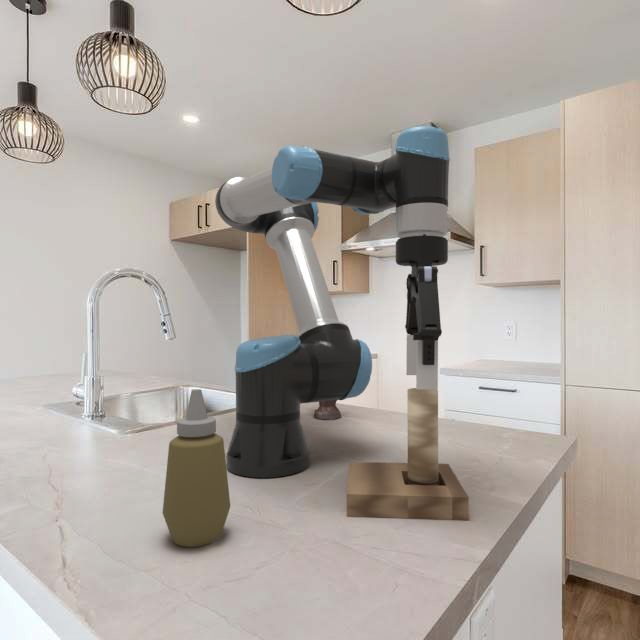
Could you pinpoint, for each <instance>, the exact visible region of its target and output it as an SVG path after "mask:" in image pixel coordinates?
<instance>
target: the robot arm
mask: <svg viewBox="0 0 640 640" xmlns="http://www.w3.org/2000/svg"><path fill="white" fill-rule="evenodd" d="M395 143H396V145H395V149H394V150H395V154H394V155H392V156H390V157H389V158H386V159H384V160H381V161H373V160H367V159H362V158H357V157H354V156H353V157H352V156H346V155H342V154H338V153H334V152H333V153H332V152H328V151H325V150H324V151H323V150H319V149H314V148H312V147H309V146H296V145H285V146H283V147H281V148H280V149H279V151H278V152H277V154H276V155H275V157H274V159H273V164H272V166H270V167H268V168H266V169H264V170H261V171H259V172H257V173H254V174H252V175H250V176H247V177H243V176H236V177H234V178H233V177H232V178H231V179H228V180H227V181H225V182H224V183H222V184H221V186H220V187H219V189H218V190H217V192H216V195H215V201H214V202H215V208H216V212H217V213H218V215H219V217H220V218H221V220H222V221H223V222H224V223H226V224H227V225H228V226H229V227H231V228H233V229H235V230H237V231H239V232H240V231H241V232H245V233H252V234H263V235H264V237H265V240H266V241H265V242H266V243H267V246H269V248H270V249H273V250H274V251H275V252H276V256H277V260H278V263H279V266H280V270H281V273H282V277H283V280H284V284H285V288H286V291H287V295H288V298H289V301H290V304H291V305H290V306H291V308H292V313H293V315H294V318H295V319H294V320H295V323H296V327H297V330H298V333H299V334H298V335H297V334H282V335H272V336H265V337H264V336H263V337H258V338H254V339H249V340H246V341H244V342H241V343H240V344H239V345H238V346H237V348H236V354H235V365H234V372H235V425H234V430H233V433H232V434H231V435H232V436H231V439H230V441H229V445H228V448H227V451H226V455H225V460H226V469H227V471H229V472H231V473H233V474H235V475H238V476H242V477H246V478H247V477H248V478H277V477H284V476H285V477H286V476H289V475H290V476H291V475H293V474H297V473H300V472H302V471H304V470H306V469H307V468H308V467H309V466H310V463H311V462H310V461H311V460H310V459H311V457H310V454H311V453H310V448H309V445H308V441H307V439H306V435H305V433H304V430H303V426H302V424H301V404H309V403H310V404H311V403H319V402H321V401H331V400H337V401H344V400H346V399H351V398H356V397H358V396H360V395H361V394H363V393H364V392H365V391H366V389H367V387H368V386H369V383H370V381H371V377H372V371H373V358H372V354H371V351H370V348H369V346H368V344H367V343H366V342H365V341H363V340H360V339H358V338H357V339H354V338H353V336H352V333H351V330H350V327H349V326H348V324H346V323H344V322H341V321H339V318H338V315H337V312H336V309H335V306H334V303H333V300H332V297H331V294H330V291H329V288H328V284H327V282H326V279H325V276H324V273H323V270H322V267H321V263H320V261H319V258H318V256H317V252H316V248H315V246H314V244H313V240H312V239H313V237H314V235H315V233H316V231H317V229H318V225H319V221H320V218H319V215H318V214H319V207H318V206H319V205H318V203H320V204H328V205H329V204H330V205H337V206H340V207H341V206H342V207H348V208H350V209H352V210H353V211H354V212H356V213H357V214H359V215H362V216H363V215H372V214H373V215H376V214H380V213H383V212H385V211H387V210H391V209H393V208H395V229H394V230H395V234H394V235H396V237H397V238H398V239H397V240H396V241H395V263H396V264H397V265H399V266H401V267H402V266H403V267H411V271H410V273H408V275H407V276H406V277H407V278H406V282H405V283H406V292H407V293H406V301H407V302H406V317H405V324H404V328H405V331H406V334H407V335H406V371H405V373H406V376H416V382H415V383H416V384H415V385H416V387H415V388H416V389H424V390H438V391H439V385H438V384H439V383H438V382H439V375H438V374H439V338H440V337H441V336H442V333H443V331H442V327H441V326H442V325H441V314H440V313H441V311H440V299H439V287H438V272H439V268H438V266H443V265H446V264H447V262H448V261H449V254H448V253H449V240H448V239H447V238H446V237H445V236H446V235H447V234H448V226H449V224H448V222H451V221H452V219H453V216H452V214H448V211H449V210H448V207H449V171H450V170H449V169H450V160H451V159H450V154H449V137H448V135H447V133H446V131H445V130H443V129H441V128H439V127H435V126H431V125H429V126H428V125H420V126H419V125H418V126H413V127H410V128H406V129H405V130H403V131H401V132H400V133H399V135H398V137H397V138H396V142H395Z"/></svg>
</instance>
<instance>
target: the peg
mask: <svg viewBox="0 0 640 640" xmlns="http://www.w3.org/2000/svg"><path fill="white" fill-rule="evenodd" d="M406 390H407V392H406V393H407V463H408V485H436V486H438V482H439V477H438V464H439V389H438V390H424V389H416V387H413V388H412V387H411V388H408V389H406Z"/></svg>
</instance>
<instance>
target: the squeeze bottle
mask: <svg viewBox="0 0 640 640" xmlns="http://www.w3.org/2000/svg"><path fill="white" fill-rule="evenodd" d="M205 404H206V403H205V400H204V396H203V391H202V388H201V389H200V388H199V389H191V392H190V395H189V401H188V405H187V410H186V416H185V417H182V418H180V419H178V420H177V421H176V434H177V436H175V437H174V438H173V439H171V440H170V441H169V444H168V451H167V452H168V454H167V464H166V471H165V472H166V473H165V483H164V491H163V492H164V494H163V504H162V515H163V518H164V521H165V524H166V527H167V529H168V531H169V534H170V536H171V540H172V541H173V542H174V544H175V545H178V546H180V547H188V548H193V547H194V548H195V547H203V546H205V545H209V544H212V543H213V542H215V541H217V540H218V539H220V537H221V536H222V535H223V531H224V528H225V524H226V522H227V519H228V515H229V512H230V509H231V498H230V489H229V481H228V479H229V478H228V469H227V466H226V452H225V444H224V442H225V441H224V438H223V437H222V435H220V434H218V433H216V431H217V425H216V424H217V419H216V418H215V417H213V416H208V414H207V410H206V405H205Z"/></svg>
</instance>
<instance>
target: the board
mask: <svg viewBox="0 0 640 640" xmlns="http://www.w3.org/2000/svg"><path fill="white" fill-rule="evenodd" d="M347 475H348V476H347V486H346V487H347V489H346V517H355V518H357V517H358V518H359V517H360V518H387V519H391V518H392V519H416V520H417V519H420V520H421V519H422V520H446V521H447V520H449V521H470V520H469V518H470V516H469V514H470V513H469V511H470V510H469V506H470V505H469V495H467V493H466V491H465V489H464V487H463V486H462V484H461V482H460V480H458V478H457V475H456V474H455V472H454V471H453V469H452V467H451V466H450V464H449V463H438V477H439V482H438V486H436V485H408V462H384V461H382V462H377V461H376V462H375V461H349V462H348V474H347Z"/></svg>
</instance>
